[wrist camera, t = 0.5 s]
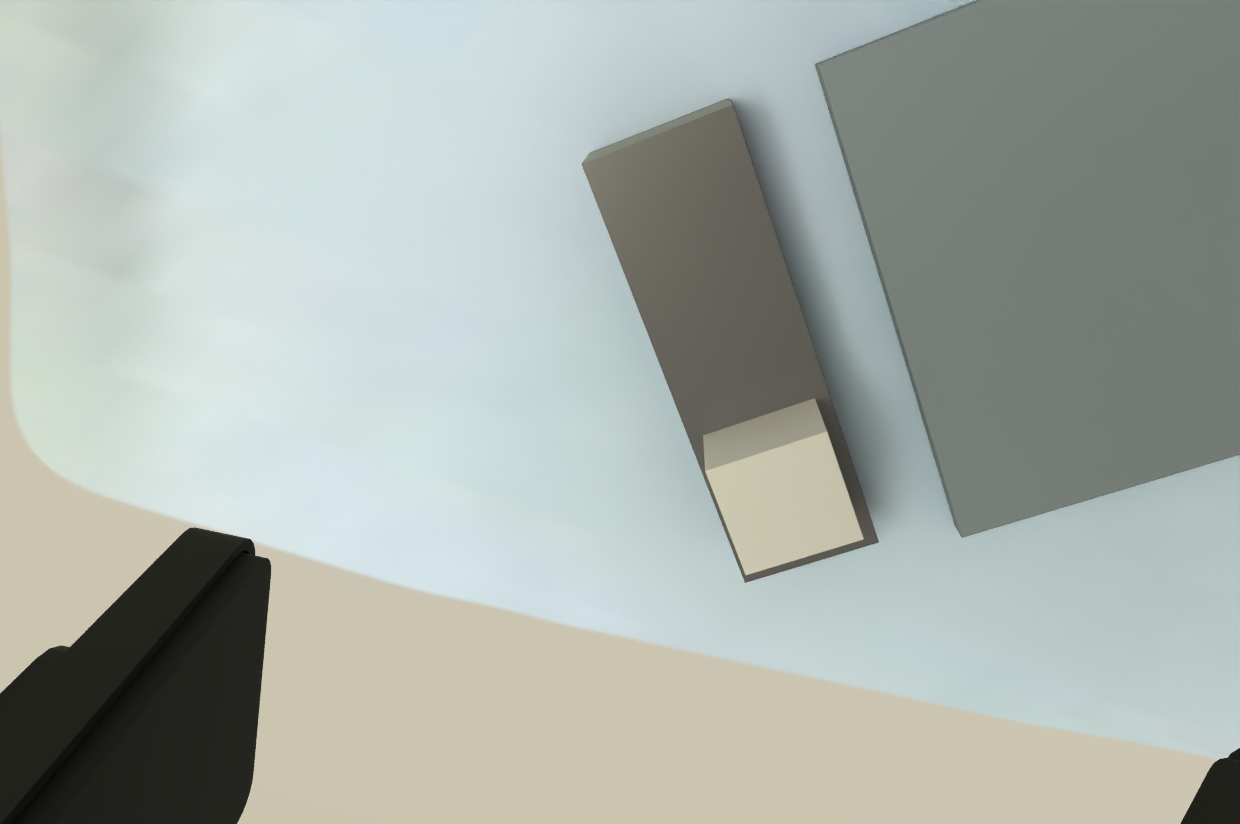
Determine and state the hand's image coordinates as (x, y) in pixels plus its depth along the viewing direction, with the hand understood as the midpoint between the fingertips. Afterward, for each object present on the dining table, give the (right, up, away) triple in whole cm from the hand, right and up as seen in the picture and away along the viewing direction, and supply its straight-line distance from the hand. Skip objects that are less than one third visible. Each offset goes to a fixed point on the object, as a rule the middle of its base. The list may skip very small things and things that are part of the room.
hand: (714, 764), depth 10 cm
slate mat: (+16, +9, +25) cm, 31 cm away
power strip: (+3, +6, +27) cm, 27 cm away
